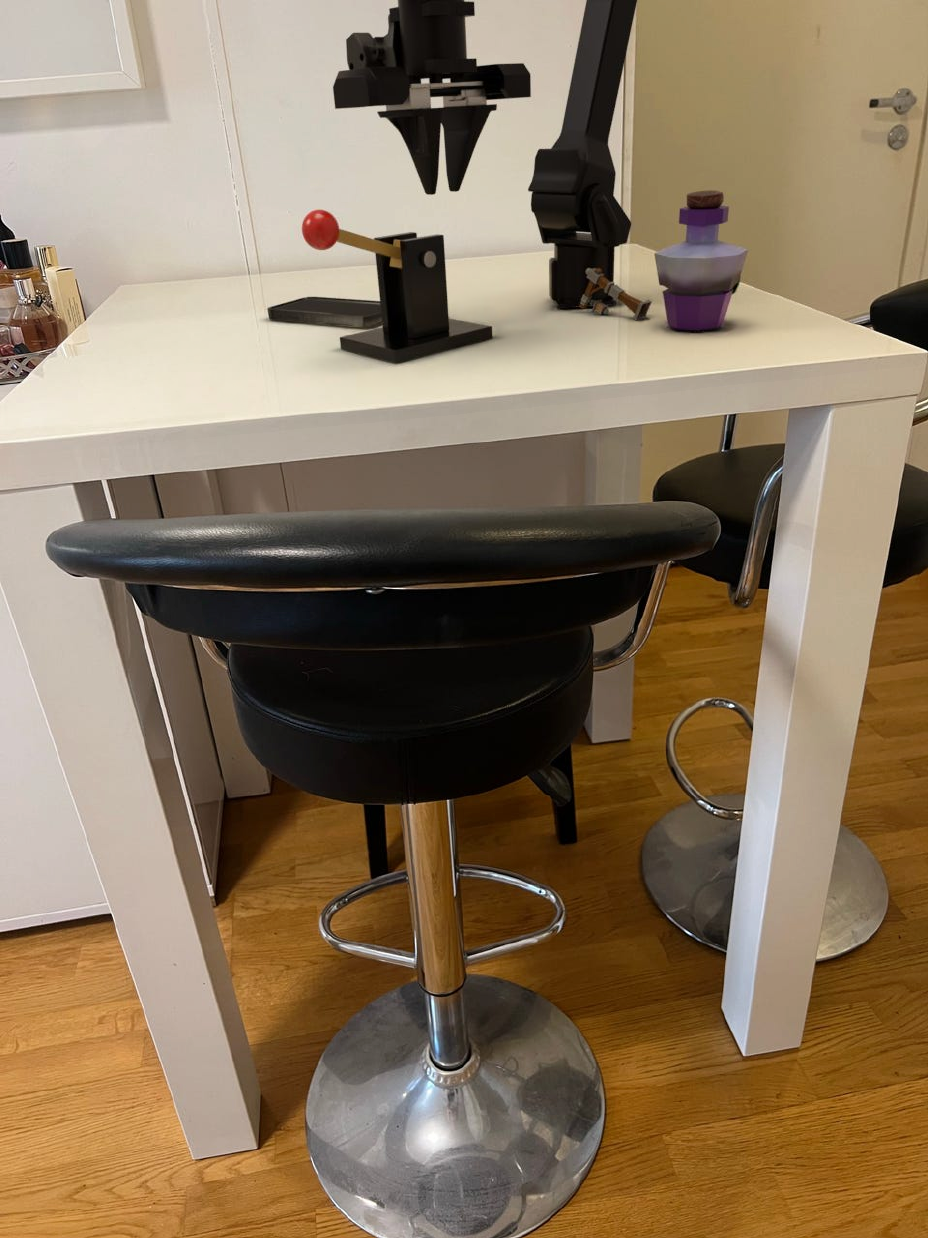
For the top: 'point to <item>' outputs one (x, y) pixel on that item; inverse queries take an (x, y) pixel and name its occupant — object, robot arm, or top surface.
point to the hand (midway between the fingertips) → (442, 192)
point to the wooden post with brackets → (615, 291)
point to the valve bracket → (414, 306)
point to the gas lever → (344, 237)
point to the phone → (329, 311)
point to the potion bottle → (700, 267)
